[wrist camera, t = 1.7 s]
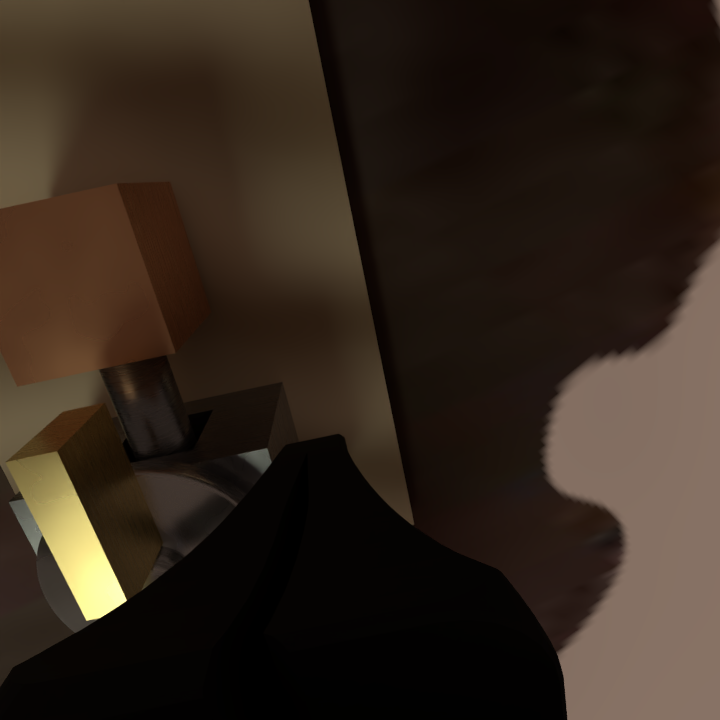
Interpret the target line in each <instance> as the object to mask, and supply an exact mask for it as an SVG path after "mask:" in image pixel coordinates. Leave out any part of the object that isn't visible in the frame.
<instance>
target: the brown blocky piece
mask: <svg viewBox="0 0 720 720" xmlns="http://www.w3.org/2000/svg"><path fill="white" fill-rule="evenodd" d="M210 313H211V310H210V307H209V303H208V300H207V297H206V294H205V291H204V288H203V284H202V281H201V278H200V275H199V272H198V268H197V265H196V262H195V259H194V256H193V253H192V249H191V246H190V243H189V240H188V237H187V233H186V230H185V227H184V224H183V221H182V218H181V214H180V211H179V208H178V205H177V202H176V198H175V195H174V192H173V189H172V186H171V183H170V182H142V183H116V184H111V185H107V186H102V187H98V188H93V189H88V190H84V191H79V192H75V193H70V194H65V195H61V196H56V197H52V198H47V199H43V200H38V201H33V202H29V203H24V204H20V205H15V206H11V207H6V208H1V209H0V351H1V354H2V356H3V358H4V360H5V362H6V364H7V366H8V368H9V370H10V372H11V375H12V377H13V379H14V381H15V383H16V385H17V387H19V386H23V385H28V384H33V383H37V382H42V381H47V380H51V379H56V378H61V377H66V376H70V375H75V374H80V373H84V372H89V371H94V370H98V369H99V372H100V374H101V377H102V379H103V381H104V384H105V386H106V389H107V391H108V394H109V396H110V399H111V401H112V403H113V406H114V408H115V411H116V413H117V416H118V418H119V420H120V423H121V425H122V428H123V430H124V433H125V435H126V438H127V440H128V442H129V445H130V447H131V450H132V452H133V455H134V457H135V460H136V462H138V461H143V460H147V459H152V458H157V457H162V456H167V455H171V454H176V453H181V452H186V451H190V450H193V449H194V447H195V445H196V443H197V439H196V437H195V434H194V431H193V428H192V425H191V423H190V420H189V417H188V414H187V411H186V409H185V406H184V403H183V400H182V397H181V395H180V392H179V389H178V386H177V383H176V381H175V378H174V375H173V372H172V369H171V367H170V364H169V361H168V358H167V355H169V354H174V353H176V352H177V351H178V350H179V349H180V348H181V346H182V345H183V344H184V343H185V342H186V341H187V340H188V338H189V337H190V336H191V335H192V334H193V333H194V331H195V330H196V329H197V328H198V327H199V326H200V325H201V323H202V322H203V321H204V320H205V319H206V318H207V317H208V315H209V314H210Z"/></svg>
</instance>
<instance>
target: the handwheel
mask: <svg viewBox="0 0 720 720" xmlns="http://www.w3.org/2000/svg"><path fill="white" fill-rule="evenodd" d="M5 463H6V465H7V466H8V468H9V470H10V472H11V474H12V476H13V478H14V480H15V482H16V484H17V486H18V488H19V490H20V492H21V494H22V496H23V498H24V500H25V502H26V503H27V505H28V507H29V509H30V511H31V513H32V515H33V517H34V519H35V521H36V523H37V525H38V527H39V529H40V531H41V533H42V537H41V539H40V542H39V546H38V550H37V562H36V565H37V574H38V579H39V583H40V586H41V589H42V591H43V594H44V596H45V598H46V600H47V602H48V603H49V605H50V606H51V608H52V610H53V611H54V612H55V613H56V615H57V616H58V617H59V618H60V619H61V621H62V622H63V623H65V624H66V625H67V626H68V627H69V628H70V629H71V630H72V631H74V632H75V633H76V632H78V631H80V630H82V629H83V628H85V627H86V626H88V625H90V624H91V623H93V622H95V621H96V620H98V619H99V618H101V617H103V616H104V615H106V614H107V613H109V612H110V611H112V610H113V609H115V608H116V607H118V606H120V605H121V604H123V603H124V602H125V601H127V600H128V599H130V598H131V597H133V596H134V595H136V594H137V593H138V592H140V591H141V590H143V589H144V588H145V587H147V586H148V585H149V584H151V583H152V582H153V581H155V580H156V579H157V578H158V577H160V576H161V575H162V574H163V573H165V572H166V571H167V570H169V569H170V568H171V567H172V566H174V565H175V564H176V563H178V562H179V561H180V560H181V559H183V558H184V557H185V556H186V555H187V554H188V553H190V552H191V551H192V550H193V549H194V548H195V547H196V546H197V545H198V544H200V543H201V542H202V541H203V540H204V539H205V538H206V537H207V536H208V535H209V534H210V533H211V532H212V531H213V530H214V529H215V528H216V527H217V526H218V525H219V524H220V523H221V522H222V521H223V520H224V519H225V518H226V517H227V516H228V515H229V514H230V512H231V511H232V510H233V509H234V508H235V507H236V506H237V505H238V503H239V502H240V501H241V500H242V499H243V498H244V497H245V496H246V494H245V493H244V492H243V491H242V490H241V489H239V488H238V487H237V486H235V485H234V484H233V483H231V482H230V481H228V480H226V479H225V478H223V477H221V476H219V475H217V474H215V473H213V472H210V471H208V470H206V469H203V468H200V467H196V466H193V465H190V464H185V463H179V462H173V461H161V460H154V461H139V462H132V463H130V461H129V459H128V456H127V454H126V451H125V449H124V447H123V444H122V442H121V439H120V437H119V435H118V432H117V430H116V427H115V425H114V423H113V420H112V418H111V415H110V413H109V411H108V408H107V406H106V403H101V404H96V405H91V406H87V407H82V408H77V409H73V410H68V411H63V412H62V413H61V414H59V415H58V416H57V417H56V418H55V419H54V420H53V421H51V422H50V423H49V424H48V425H47V426H46V427H45V428H44V429H42V430H41V431H40V432H39V433H38V434H37V435H36V436H34V437H33V438H32V439H31V440H30V441H29V442H28V443H27V444H25V445H24V446H23V447H22V448H21V449H20V450H19V451H17V452H16V453H15V454H14V455H13V456H12V457H11V458H10V459H8V460H7V461H6V462H5Z"/></svg>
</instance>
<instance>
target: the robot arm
mask: <svg viewBox="0 0 720 720" xmlns="http://www.w3.org/2000/svg"><path fill="white" fill-rule="evenodd" d="M0 720H567V711H566V700H565V689H564V678H563V673H562V669H561V666H560V662H559V659H558V656H557V653H556V651H555V649H554V647H553V645H552V643H551V641H550V640H549V638H548V636H547V635H546V633H545V631H544V630H543V628H542V626H541V625H540V623H539V622H538V620H537V619H536V617H535V616H534V614H533V613H532V611H531V610H530V608H529V607H528V606H527V604H526V603H525V601H524V600H523V599H522V597H521V596H520V595H519V593H518V592H517V591H516V590H515V588H514V587H513V586H512V584H511V583H510V582H509V581H508V579H507V578H506V577H505V576H504V575H503V573H502V572H501V571H499V570H498V569H496V568H493V567H491V566H488V565H486V564H483V563H481V562H479V561H476V560H474V559H471V558H469V557H466V556H464V555H461V554H459V553H457V552H455V551H453V550H451V549H449V548H447V547H445V546H443V545H441V544H440V543H438V542H437V541H435V540H434V539H432V538H431V537H429V536H427V535H426V534H424V533H423V532H421V531H420V530H418V529H417V528H415V527H414V526H413V525H411V524H410V523H409V522H408V521H406V520H405V519H404V518H403V517H402V516H400V515H399V514H398V513H397V512H396V511H395V510H394V509H392V508H391V507H390V506H389V505H388V504H387V503H386V502H385V501H384V500H383V499H382V498H381V497H380V496H379V495H378V493H377V492H376V491H375V490H374V489H373V488H372V486H371V485H370V484H369V483H368V482H367V480H366V479H365V478H364V476H363V475H362V473H361V472H360V471H359V469H358V468H357V466H356V465H355V463H354V462H353V460H352V458H351V456H350V454H349V452H348V449H347V444H346V440H345V437H343V436H342V435H340V434H334V435H330V436H325V437H320V438H315V439H311V440H306V441H301V442H296V443H291V444H287V445H285V446H284V447H283V449H282V450H281V451H280V452H279V454H278V455H277V456H276V458H275V459H274V460H273V462H272V463H271V464H270V466H269V467H268V468H267V469H266V471H265V472H264V473H263V475H262V476H261V477H260V478H259V480H258V481H257V482H256V483H255V485H254V486H253V487H252V488H251V490H250V491H249V492H248V493H247V494H246V496H245V497H244V498H243V499H242V500H241V501H240V502H239V503H238V505H237V506H236V507H235V508H234V509H233V510H232V511H231V512H230V514H229V515H228V516H227V517H226V518H225V519H224V520H223V521H222V522H221V523H220V524H219V525H218V526H217V527H216V528H215V529H214V530H213V531H212V532H211V533H210V534H209V535H208V536H207V537H206V538H205V539H204V540H203V541H202V542H201V543H200V544H198V545H197V546H196V547H195V548H194V549H193V550H192V551H191V552H190V553H188V554H187V555H186V556H185V557H184V558H183V559H181V560H180V561H179V562H178V563H176V564H175V565H174V566H172V567H171V568H170V569H169V570H167V571H166V572H165V573H163V574H162V575H161V576H160V577H158V578H157V579H156V580H155V581H153V582H152V583H151V584H149V585H148V586H147V587H145V588H144V589H143V590H141V591H140V592H138V593H137V594H136V595H134V596H133V597H131V598H130V599H128V600H127V601H125V602H124V603H123V604H121V605H120V606H118V607H116V608H115V609H113V610H112V611H110V612H109V613H107V614H106V615H104V616H103V617H101V618H99V619H98V620H96V621H95V622H93V623H91V624H90V625H88V626H86V627H85V628H83V629H82V630H80V631H78V632H76V633H75V634H73V635H71V636H69V637H67V638H66V639H64V640H62V641H60V642H59V643H57V644H55V645H53V646H51V647H50V648H48V649H46V650H44V651H43V652H41V653H39V654H37V655H35V656H34V657H32V658H30V659H28V660H26V661H24V662H23V663H21V664H19V665H17V666H15V667H13V669H12V670H11V672H10V673H9V675H8V676H7V678H6V679H5V681H4V682H3V684H2V685H1V687H0Z"/></svg>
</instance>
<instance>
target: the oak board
mask: <svg viewBox="0 0 720 720" xmlns="http://www.w3.org/2000/svg"><path fill="white" fill-rule="evenodd" d="M142 182H170V183H171V186H172V189H173V192H174V195H175V198H176V202H177V205H178V208H179V211H180V214H181V218H182V221H183V224H184V227H185V230H186V233H187V237H188V240H189V243H190V246H191V249H192V253H193V256H194V259H195V262H196V265H197V268H198V272H199V275H200V278H201V281H202V284H203V288H204V291H205V294H206V297H207V300H208V303H209V307H210V310H211V313H210V314H209V315H208V317H207V318H206V319H205V320H204V321H203V322H202V323H201V325H200V326H199V327H198V328H197V329H196V330H195V331H194V333H193V334H192V335H191V336H190V337H189V338H188V340H187V341H186V342H185V343H184V344H183V345H182V346H181V348H180V349H179V350H178V351H177V352H176V353H174V354H169V355H167V358H168V361H169V364H170V367H171V369H172V372H173V375H174V378H175V381H176V383H177V386H178V389H179V392H180V395H181V397H182V400H183V403H185V402H189V401H194V400H199V399H204V398H208V397H213V396H218V395H223V394H227V393H232V392H237V391H241V390H246V389H251V388H256V387H260V386H265V385H270V384H275V383H279V382H283V386H284V389H285V393H286V397H287V400H288V404H289V407H290V411H291V415H292V418H293V422H294V425H295V429H296V433H297V436H298V440H299V442H301V441H306V440H311V439H315V438H320V437H325V436H330V435H334V434H340V435H342V436H343V437H345V440H346V444H347V449H348V452H349V454H350V456H351V458H352V460H353V462H354V463H355V465H356V466H357V468H358V469H359V471H360V472H361V473H362V475H363V476H364V478H365V479H366V480H367V482H368V483H369V484H370V485H371V486H372V488H373V489H374V490H375V491H376V492H377V493H378V495H379V496H380V497H381V498H382V499H383V500H384V501H385V502H386V503H387V504H388V505H389V506H390V507H391V508H392V509H394V510H395V511H396V512H397V513H398V514H399V515H400V516H402V517H403V518H404V519H405V520H406V521H408V522H409V523H410V524H411V525H414V520H413V515H412V511H411V506H410V501H409V496H408V491H407V486H406V481H405V476H404V471H403V466H402V461H401V456H400V451H399V446H398V441H397V436H396V431H395V426H394V421H393V416H392V411H391V407H390V402H389V397H388V392H387V387H386V382H385V377H384V372H383V367H382V362H381V357H380V352H379V347H378V342H377V337H376V332H375V327H374V322H373V317H372V312H371V307H370V303H369V298H368V293H367V288H366V283H365V278H364V273H363V268H362V263H361V258H360V253H359V248H358V243H357V238H356V233H355V228H354V223H353V218H352V213H351V208H350V203H349V199H348V194H347V189H346V184H345V179H344V174H343V169H342V164H341V159H340V154H339V149H338V144H337V139H336V134H335V129H334V124H333V119H332V114H331V109H330V104H329V99H328V95H327V90H326V85H325V80H324V75H323V70H322V65H321V60H320V55H319V50H318V45H317V40H316V35H315V30H314V25H313V20H312V15H311V10H310V5H309V0H0V209H1V208H6V207H11V206H15V205H20V204H24V203H29V202H33V201H38V200H43V199H47V198H52V197H56V196H61V195H65V194H70V193H75V192H79V191H84V190H88V189H93V188H98V187H102V186H107V185H111V184H116V183H142ZM101 403H106V406H107V408H108V411H109V413H110V415H111V418H114V417H118V416H117V413H116V411H115V408H114V406H113V403H112V401H111V399H110V396H109V394H108V391H107V389H106V386H105V384H104V381H103V379H102V377H101V374H100V372H99V369H98V370H94V371H89V372H84V373H80V374H75V375H70V376H66V377H61V378H56V379H51V380H47V381H42V382H37V383H33V384H28V385H23V386H19V387H17V385H16V383H15V381H14V379H13V377H12V375H11V372H10V370H9V368H8V366H7V364H6V362H5V360H4V358H3V356H2V354H1V351H0V465H1V467H2V469H3V471H4V473H5V475H6V477H7V479H8V481H9V483H10V484H11V486H12V488H13V490H14V492H15V494H17V493H18V492H19V491H20V490H19V488H18V486H17V484H16V482H15V480H14V478H13V476H12V474H11V472H10V470H9V468H8V466H7V465H6V463H5V462H6V461H7V460H8V459H10V458H11V457H12V456H13V455H14V454H15V453H16V452H17V451H19V450H20V449H21V448H22V447H23V446H24V445H25V444H27V443H28V442H29V441H30V440H31V439H32V438H33V437H34V436H36V435H37V434H38V433H39V432H40V431H41V430H42V429H44V428H45V427H46V426H47V425H48V424H49V423H50V422H51V421H53V420H54V419H55V418H56V417H57V416H58V415H59V414H61V413H62V412H63V411H68V410H73V409H77V408H82V407H87V406H91V405H96V404H101Z"/></svg>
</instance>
